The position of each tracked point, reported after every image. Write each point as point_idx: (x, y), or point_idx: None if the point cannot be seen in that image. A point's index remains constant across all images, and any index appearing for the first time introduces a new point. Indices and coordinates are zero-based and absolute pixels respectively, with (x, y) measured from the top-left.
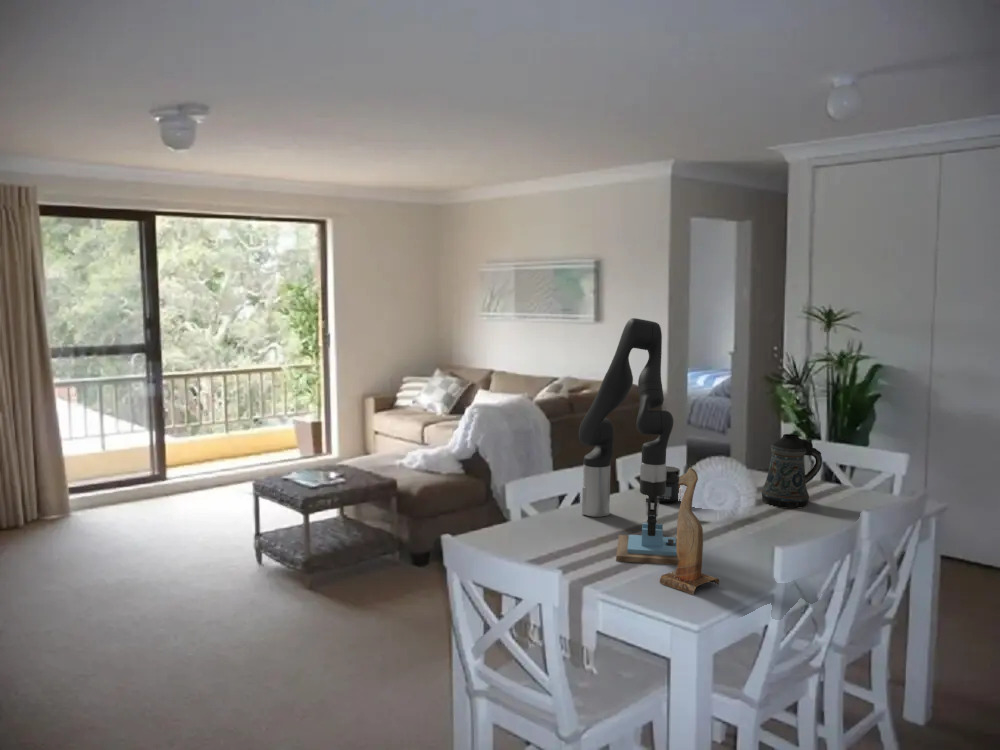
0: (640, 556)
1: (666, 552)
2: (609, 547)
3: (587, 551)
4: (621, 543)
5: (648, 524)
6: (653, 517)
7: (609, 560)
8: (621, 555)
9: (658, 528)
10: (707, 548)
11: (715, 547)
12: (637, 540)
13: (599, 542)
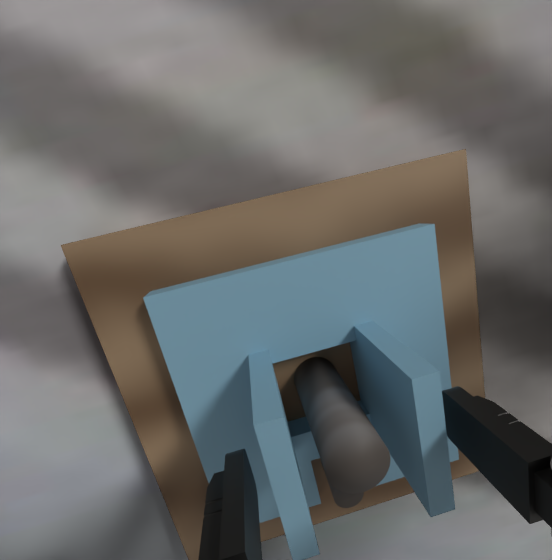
0: (128, 373)
1: None
2: (295, 139)
3: (158, 18)
4: (312, 208)
5: (222, 549)
6: (509, 485)
7: (66, 204)
8: (84, 273)
9: (409, 467)
10: (439, 532)
11: (459, 550)
12: (339, 304)
13: (362, 51)
